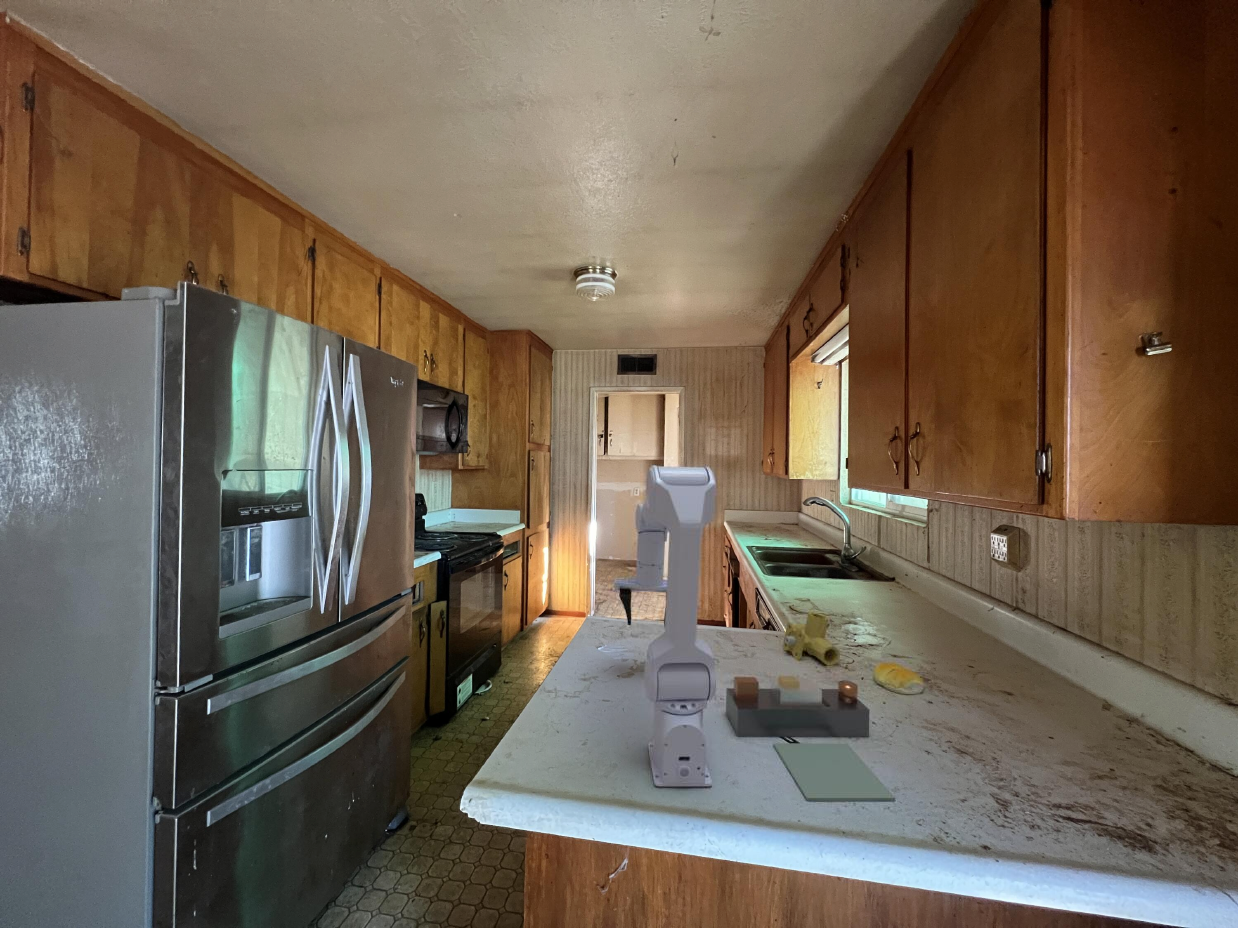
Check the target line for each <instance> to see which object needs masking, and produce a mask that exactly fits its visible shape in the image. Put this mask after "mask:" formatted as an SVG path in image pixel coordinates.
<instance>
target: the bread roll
mask: <svg viewBox="0 0 1238 928" xmlns="http://www.w3.org/2000/svg"><path fill="white" fill-rule="evenodd" d="M872 678H873V680H874V682H875V683H876V684H877V685H880V686H882V687H884V688H885V689H886V690H889V691H891V692H894V693H897V694H901V695H918V694H921V693H922V692H923V691H924V681H923V680H922V679H921V677H920V676H919V675H918V674H917V673H915V672H914V671H913V670H911V669H908V668H904V667H903V666H902V665H900V664H897V663H894V662H882V663H879V664H877V665H876V666H875V667H874V669H873V671H872Z"/></svg>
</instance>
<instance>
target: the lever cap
mask: <svg viewBox="0 0 1238 928" xmlns="http://www.w3.org/2000/svg"><path fill="white" fill-rule="evenodd" d="M769 689H770V692H771V693H772V695H773V696H774V698H775V699H776V700H777V702H778V703H779V704H780V705H786V706H822V690H821V689H822V688H820V687H819V686H818V685H817V684H816V683H815V682H814V681H813V680H812V679H811V678H810V677H796V676H795V675H778V676H777V677H770V688H769Z"/></svg>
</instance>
